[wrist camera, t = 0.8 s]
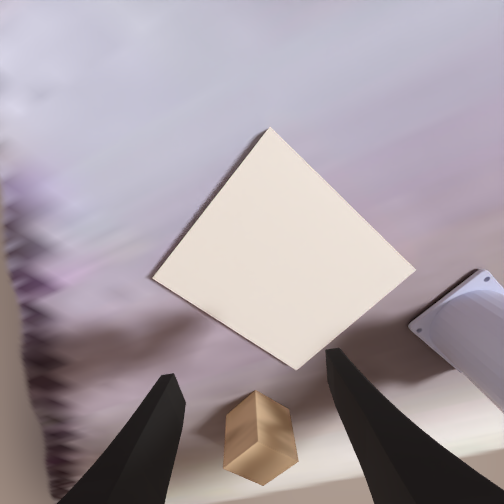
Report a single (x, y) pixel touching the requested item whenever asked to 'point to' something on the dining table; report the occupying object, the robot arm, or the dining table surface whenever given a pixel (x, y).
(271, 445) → the oak cube
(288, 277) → the painted board
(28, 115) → the dining table surface
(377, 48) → the dining table surface
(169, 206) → the dining table surface
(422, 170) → the dining table surface
